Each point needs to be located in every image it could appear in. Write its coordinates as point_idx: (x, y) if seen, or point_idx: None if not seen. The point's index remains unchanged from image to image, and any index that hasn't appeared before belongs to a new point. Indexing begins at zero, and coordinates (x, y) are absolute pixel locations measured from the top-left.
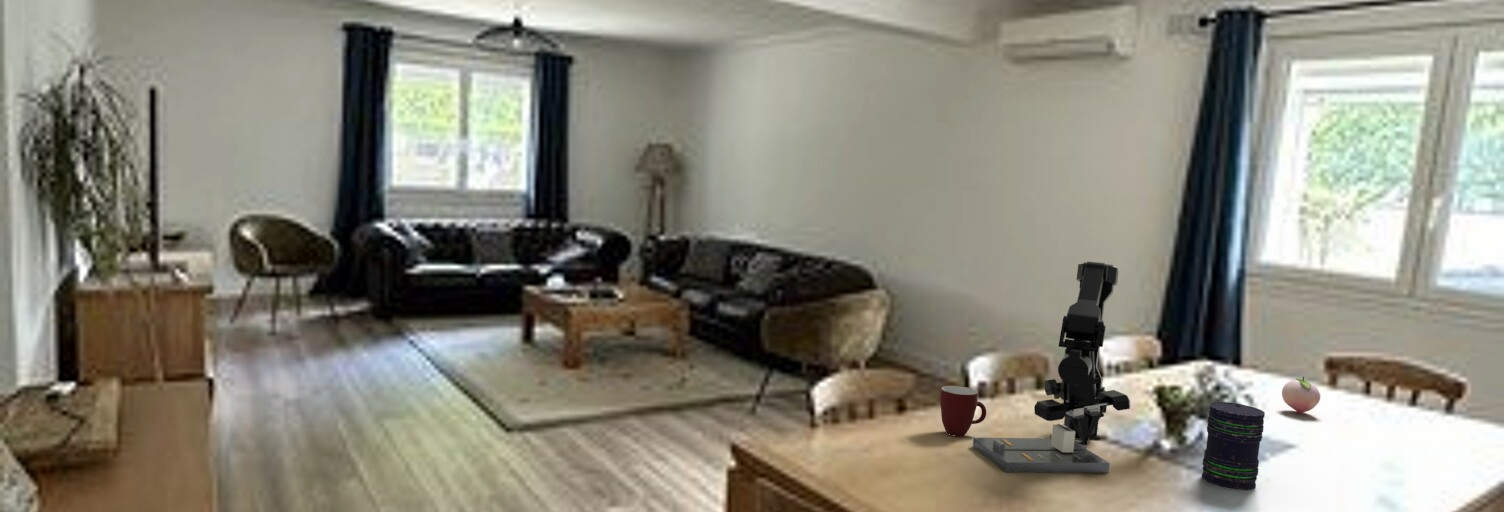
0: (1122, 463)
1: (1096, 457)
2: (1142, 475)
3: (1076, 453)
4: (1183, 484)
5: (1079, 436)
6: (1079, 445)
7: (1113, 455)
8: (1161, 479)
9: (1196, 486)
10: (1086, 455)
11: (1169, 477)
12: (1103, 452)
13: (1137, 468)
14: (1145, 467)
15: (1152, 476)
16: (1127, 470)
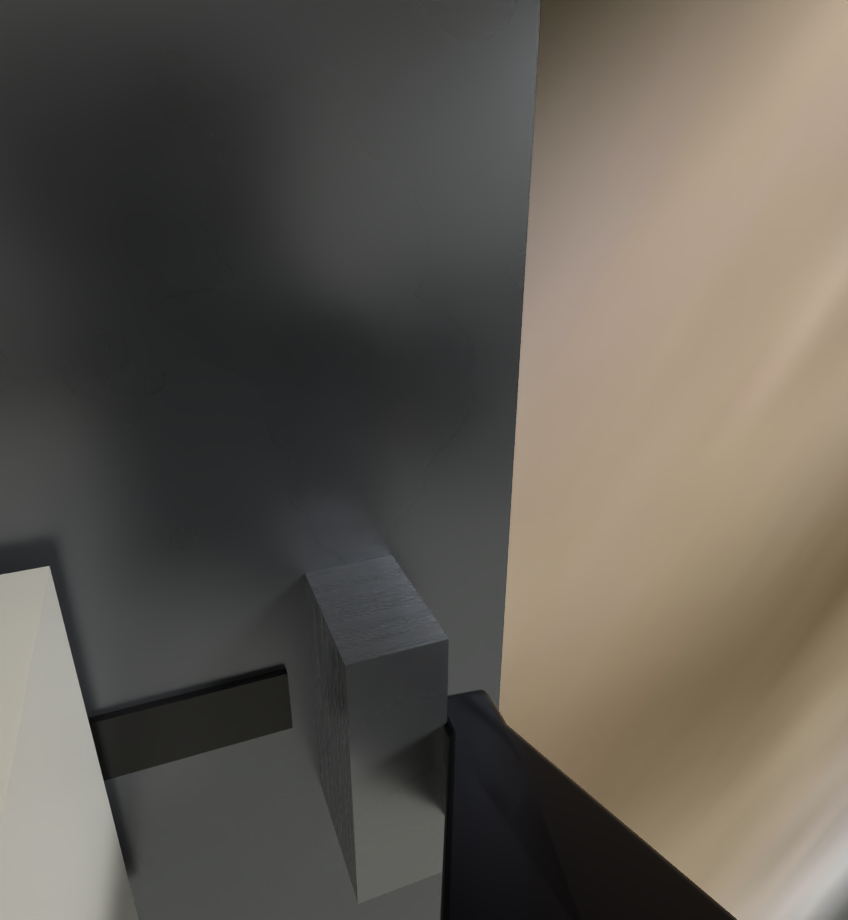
0: (741, 590)
1: (434, 900)
2: (683, 840)
3: (209, 858)
4: (805, 895)
5: (446, 832)
6: (343, 804)
7: (842, 332)
8: (749, 865)
9: (845, 894)
10: (336, 877)
11: (827, 805)
12: (820, 216)
13: (766, 689)
14: (843, 644)
15: (737, 831)
16: (650, 770)
